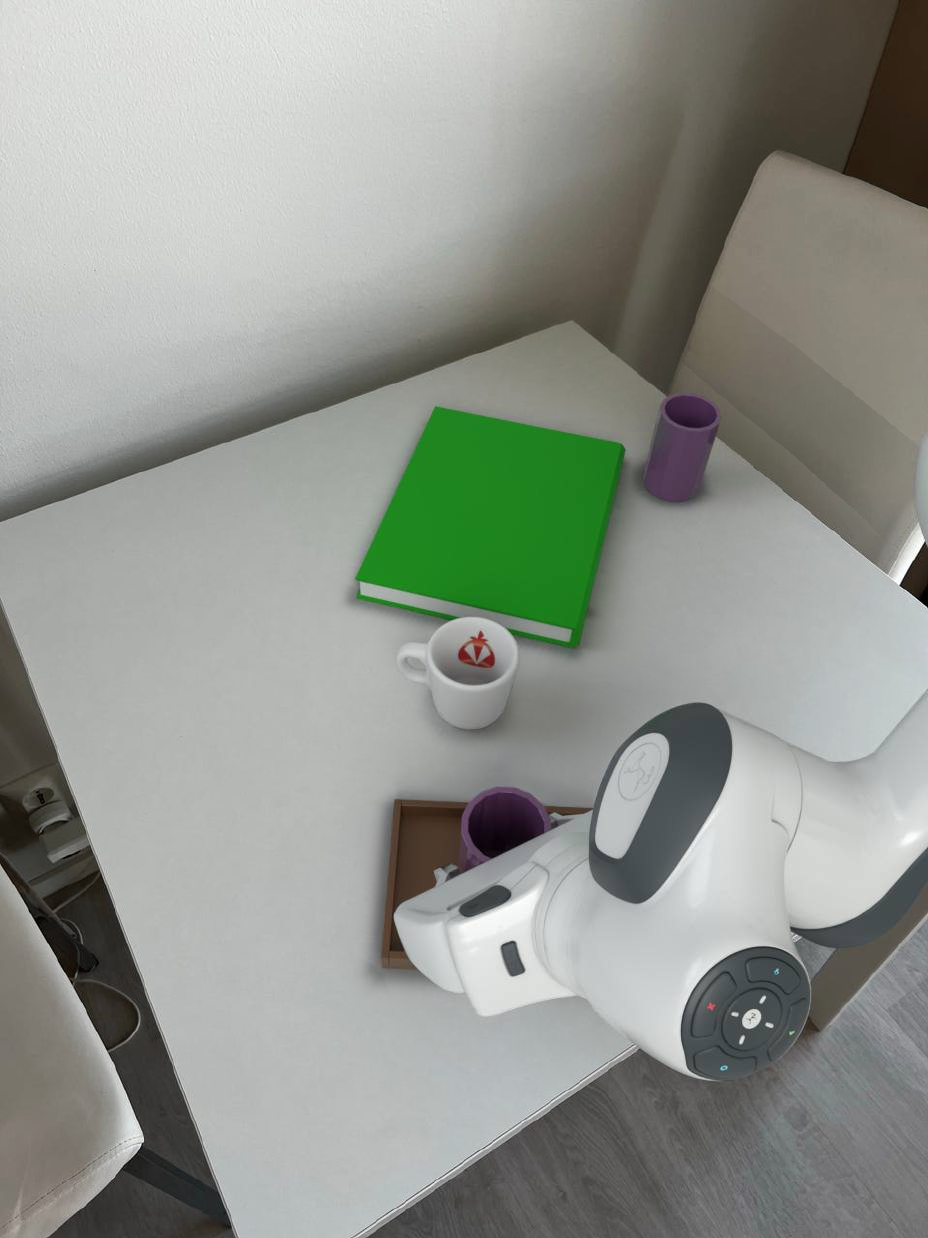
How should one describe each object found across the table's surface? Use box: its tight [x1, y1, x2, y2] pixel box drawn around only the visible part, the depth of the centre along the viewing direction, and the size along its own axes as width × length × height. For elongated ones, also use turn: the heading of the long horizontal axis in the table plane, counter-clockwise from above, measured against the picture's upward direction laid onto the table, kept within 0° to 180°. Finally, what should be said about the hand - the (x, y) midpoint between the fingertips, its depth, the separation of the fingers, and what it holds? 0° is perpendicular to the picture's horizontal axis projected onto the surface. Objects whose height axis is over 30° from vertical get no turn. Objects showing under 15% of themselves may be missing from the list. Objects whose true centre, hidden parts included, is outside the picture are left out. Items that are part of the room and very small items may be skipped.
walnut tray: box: [380, 798, 594, 970], centre depth 75 cm, size 17×13×2 cm
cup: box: [395, 617, 521, 731], centre depth 84 cm, size 11×8×8 cm
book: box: [354, 405, 626, 649], centre depth 101 cm, size 22×28×3 cm
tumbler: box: [642, 392, 722, 503], centre depth 104 cm, size 6×6×10 cm
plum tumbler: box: [458, 786, 551, 874], centre depth 71 cm, size 6×6×10 cm
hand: (497, 850), depth 71 cm, fingers open, 8 cm apart
